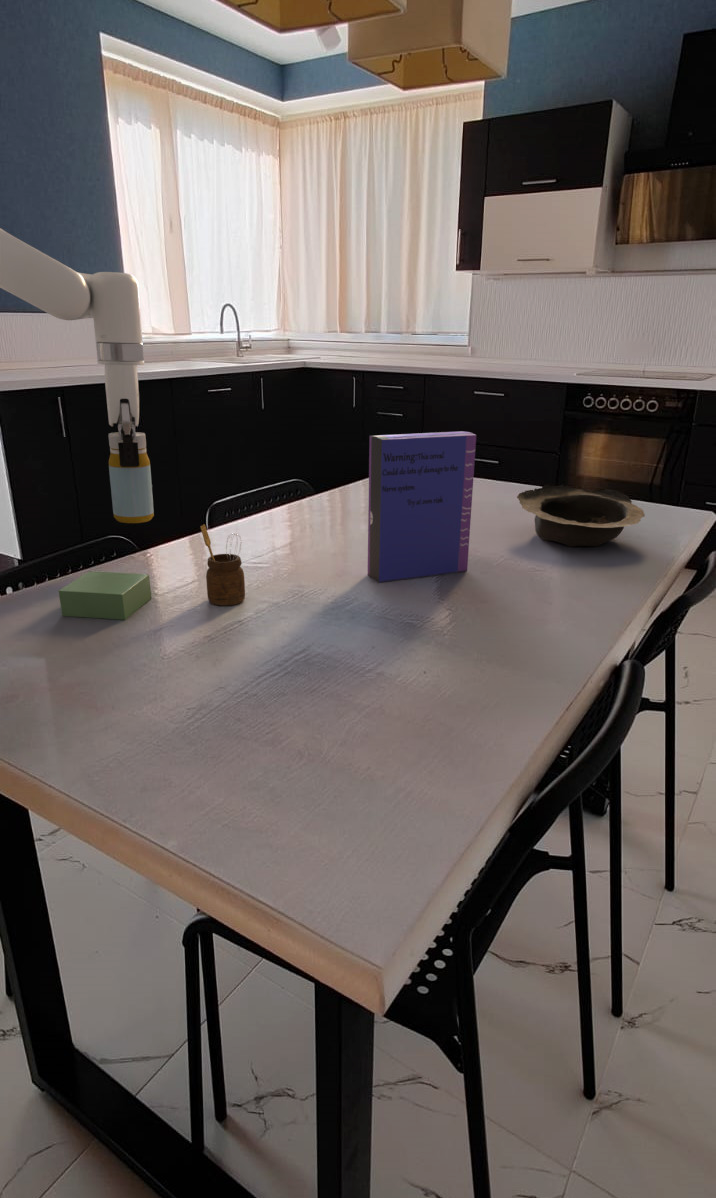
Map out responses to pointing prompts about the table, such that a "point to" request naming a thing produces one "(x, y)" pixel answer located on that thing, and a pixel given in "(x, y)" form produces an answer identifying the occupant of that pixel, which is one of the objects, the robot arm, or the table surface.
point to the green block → (105, 595)
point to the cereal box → (419, 504)
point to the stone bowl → (579, 514)
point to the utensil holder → (224, 576)
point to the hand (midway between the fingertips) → (129, 462)
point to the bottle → (131, 484)
